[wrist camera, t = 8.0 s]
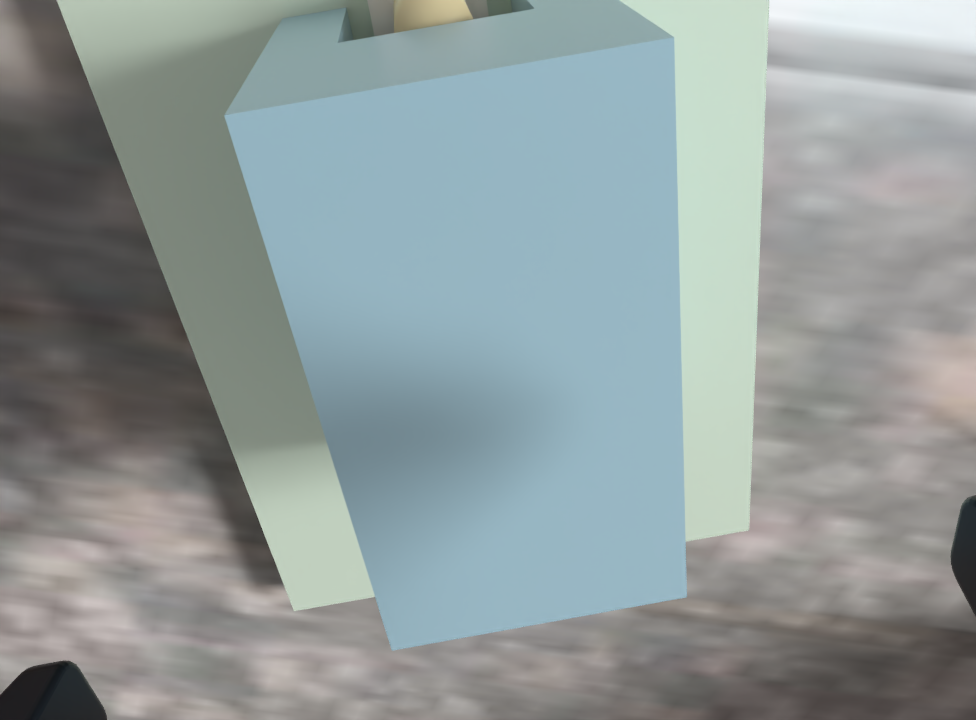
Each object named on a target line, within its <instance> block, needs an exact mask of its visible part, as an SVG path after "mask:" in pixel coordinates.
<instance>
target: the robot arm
mask: <svg viewBox="0 0 976 720" xmlns="http://www.w3.org/2000/svg"><path fill="white" fill-rule="evenodd" d="M951 565H952V569H953V572H954V575H955V577H956V580H957V582H958V584H959V586H960V587H961V589H962V591H963V593H964V595H965V597H966V599H967V601H968V603H969V605H970V607H971V608H972V610H973V612H974V614H975V616H976V495H975V496H971V497H968V498H967V499H966V500H965V501H964V502H963V504H962V506H961V509H960V514H959V518H958V523H957V527H956V532H955V536H954V541H953V545H952V550H951ZM0 720H107V716H106V712H105V710H104V707H103V705H102V704H101V702H100V701H99V699H98V698H97V696H96V694H95V693H94V691H93V690H92V688H91V686H90V685H89V683H88V682H87V680H86V679H85V677H84V675H83V674H82V672H81V671H80V669H79V668H78V666H77V665H76V664H74V663H72V662H70V661H59V662H53V663H48V664H42V665H37V666H33V667H30V668H28V669H26V670H25V671H23V672H22V673H21V674H20V675H19V676H18V677H17V678H16V679H15V680H14V681H13V682H12V683H11V684H10V685H9V686H8V687H7V688H6V689H5V690H4V691H3V693H2V694H1V695H0Z"/></svg>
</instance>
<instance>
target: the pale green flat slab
mask: <svg viewBox="0 0 976 720" xmlns="http://www.w3.org/2000/svg"><path fill="white" fill-rule="evenodd" d="M620 1H621V2H622V3H624V4H625V5H627V6H628V7H630V8H631V9H633V10H634V11H636V12H637V13H639V14H640V15H642V16H643V17H645V18H646V19H648V20H649V21H651V22H652V23H654V24H655V25H657V26H658V27H660V28H661V29H663V30H664V31H666V32H667V33H669V34H670V35H672V36H673V37H674V52H675V96H676V141H677V185H678V229H679V273H680V318H681V362H682V406H683V450H684V495H685V539H686V541H692V540H697V539H703V538H709V537H714V536H720V535H725V534H731V533H737V532H742V531H748V530H749V516H750V490H751V464H752V437H753V411H754V385H755V359H756V333H757V307H758V280H759V254H760V228H761V202H762V176H763V149H764V123H765V97H766V71H767V45H768V18H769V0H620ZM57 3H58V5H59V8H60V10H61V13H62V16H63V18H64V21H65V23H66V26H67V28H68V31H69V34H70V36H71V39H72V41H73V44H74V46H75V49H76V52H77V54H78V57H79V59H80V62H81V64H82V67H83V70H84V72H85V75H86V77H87V80H88V82H89V85H90V88H91V90H92V93H93V95H94V98H95V100H96V103H97V106H98V108H99V111H100V113H101V116H102V118H103V121H104V124H105V126H106V129H107V131H108V134H109V136H110V139H111V142H112V144H113V147H114V149H115V152H116V154H117V157H118V160H119V162H120V165H121V167H122V170H123V172H124V175H125V178H126V180H127V183H128V185H129V188H130V190H131V193H132V196H133V198H134V201H135V203H136V206H137V208H138V211H139V214H140V216H141V219H142V221H143V224H144V226H145V229H146V232H147V234H148V237H149V239H150V242H151V244H152V247H153V250H154V252H155V255H156V257H157V260H158V262H159V265H160V268H161V270H162V273H163V275H164V278H165V280H166V283H167V286H168V288H169V291H170V293H171V296H172V298H173V301H174V304H175V306H176V309H177V311H178V314H179V316H180V319H181V322H182V324H183V327H184V329H185V332H186V334H187V337H188V340H189V342H190V345H191V347H192V350H193V352H194V355H195V358H196V360H197V363H198V365H199V368H200V370H201V373H202V376H203V378H204V381H205V383H206V386H207V388H208V391H209V394H210V396H211V399H212V401H213V404H214V406H215V409H216V412H217V414H218V417H219V419H220V422H221V424H222V427H223V430H224V432H225V435H226V437H227V440H228V442H229V445H230V448H231V450H232V453H233V455H234V458H235V460H236V463H237V466H238V468H239V471H240V473H241V476H242V478H243V481H244V484H245V486H246V489H247V491H248V494H249V496H250V499H251V502H252V504H253V507H254V509H255V512H256V514H257V517H258V520H259V522H260V525H261V527H262V530H263V532H264V535H265V538H266V540H267V543H268V545H269V548H270V550H271V553H272V556H273V558H274V561H275V563H276V566H277V568H278V571H279V574H280V576H281V579H282V581H283V584H284V586H285V589H286V592H287V594H288V597H289V599H290V602H291V604H292V607H293V610H294V611H298V610H304V609H309V608H315V607H320V606H326V605H332V604H337V603H343V602H349V601H354V600H360V599H365V598H371V597H375V595H374V592H373V588H372V585H371V582H370V579H369V576H368V572H367V569H366V566H365V563H364V560H363V556H362V553H361V550H360V547H359V544H358V541H357V537H356V534H355V531H354V528H353V525H352V521H351V518H350V515H349V512H348V509H347V505H346V502H345V499H344V496H343V493H342V489H341V486H340V483H339V480H338V477H337V474H336V470H335V467H334V464H333V461H332V458H331V454H330V451H329V448H328V445H327V442H326V438H325V435H324V432H323V429H322V426H321V423H320V419H319V416H318V413H317V410H316V407H315V403H314V400H313V397H312V394H311V391H310V387H309V384H308V381H307V378H306V375H305V371H304V368H303V365H302V362H301V359H300V356H299V352H298V349H297V346H296V343H295V340H294V336H293V333H292V330H291V327H290V324H289V320H288V317H287V314H286V311H285V308H284V305H283V301H282V298H281V295H280V292H279V289H278V285H277V282H276V279H275V276H274V273H273V269H272V266H271V263H270V260H269V257H268V254H267V250H266V247H265V244H264V241H263V238H262V234H261V231H260V228H259V225H258V222H257V218H256V215H255V212H254V209H253V206H252V202H251V199H250V196H249V193H248V190H247V187H246V183H245V180H244V177H243V174H242V171H241V167H240V164H239V161H238V158H237V155H236V151H235V148H234V145H233V142H232V139H231V136H230V132H229V129H228V126H227V123H226V120H225V116H224V115H225V113H226V112H227V110H228V108H229V107H230V105H231V103H232V102H233V100H234V98H235V97H236V95H237V93H238V92H239V90H240V88H241V87H242V85H243V83H244V82H245V80H246V78H247V77H248V75H249V73H250V72H251V70H252V68H253V67H254V65H255V63H256V62H257V60H258V58H259V57H260V55H261V53H262V52H263V50H264V48H265V47H266V45H267V43H268V42H269V40H270V38H271V37H272V35H273V33H274V32H275V30H276V29H277V27H278V25H279V24H280V22H281V20H282V19H283V18H288V17H294V16H300V15H305V14H311V13H317V12H323V11H328V10H334V9H340V8H347V12H348V17H349V22H350V26H351V31H352V35H353V40H357V39H363V38H369V37H374V36H380V35H386V34H392V33H397V32H403V31H409V30H415V29H421V28H426V27H432V26H438V25H444V24H449V23H455V22H461V21H467V20H473V19H478V18H484V17H490V16H496V15H501V14H507V13H512V5H511V0H57Z"/></svg>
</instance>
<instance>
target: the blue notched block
mask: <svg viewBox="0 0 976 720" xmlns="http://www.w3.org/2000/svg"><path fill="white" fill-rule="evenodd" d="M511 5H512V13H507V14H501V15H496V16H490V17H484V18H478V19H473V20H467V21H461V22H455V23H449V24H444V25H438V26H432V27H426V28H421V29H415V30H409V31H403V32H397V33H392V34H386V35H380V36H374V37H369V38H363V39H357V40H353V35H352V31H351V26H350V22H349V17H348V12H347V8H340V9H334V10H328V11H323V12H317V13H311V14H305V15H300V16H294V17H288V18H283V19H282V20H281V22H280V24H279V25H278V27H277V29H276V30H275V32H274V33H273V35H272V37H271V38H270V40H269V42H268V43H267V45H266V47H265V48H264V50H263V52H262V53H261V55H260V57H259V58H258V60H257V62H256V63H255V65H254V67H253V68H252V70H251V72H250V73H249V75H248V77H247V78H246V80H245V82H244V83H243V85H242V87H241V88H240V90H239V92H238V93H237V95H236V97H235V98H234V100H233V102H232V103H231V105H230V107H229V108H228V110H227V112H226V113H225V115H224V116H225V120H226V123H227V126H228V129H229V132H230V136H231V139H232V142H233V145H234V148H235V151H236V155H237V158H238V161H239V164H240V167H241V171H242V174H243V177H244V180H245V183H246V187H247V190H248V193H249V196H250V199H251V202H252V206H253V209H254V212H255V215H256V218H257V222H258V225H259V228H260V231H261V234H262V238H263V241H264V244H265V247H266V250H267V254H268V257H269V260H270V263H271V266H272V269H273V273H274V276H275V279H276V282H277V285H278V289H279V292H280V295H281V298H282V301H283V305H284V308H285V311H286V314H287V317H288V320H289V324H290V327H291V330H292V333H293V336H294V340H295V343H296V346H297V349H298V352H299V356H300V359H301V362H302V365H303V368H304V371H305V375H306V378H307V381H308V384H309V387H310V391H311V394H312V397H313V400H314V403H315V407H316V410H317V413H318V416H319V419H320V423H321V426H322V429H323V432H324V435H325V438H326V442H327V445H328V448H329V451H330V454H331V458H332V461H333V464H334V467H335V470H336V474H337V477H338V480H339V483H340V486H341V489H342V493H343V496H344V499H345V502H346V505H347V509H348V512H349V515H350V518H351V521H352V525H353V528H354V531H355V534H356V537H357V541H358V544H359V547H360V550H361V553H362V556H363V560H364V563H365V566H366V569H367V572H368V576H369V579H370V582H371V585H372V588H373V592H374V595H375V598H376V601H377V604H378V607H379V611H380V614H381V617H382V620H383V623H384V627H385V630H386V633H387V636H388V639H389V643H390V646H391V649H392V651H393V650H398V649H404V648H409V647H415V646H420V645H426V644H431V643H437V642H442V641H448V640H453V639H459V638H464V637H470V636H475V635H481V634H486V633H492V632H497V631H503V630H508V629H514V628H520V627H525V626H531V625H536V624H542V623H547V622H553V621H558V620H564V619H569V618H575V617H580V616H586V615H591V614H597V613H602V612H608V611H613V610H619V609H624V608H630V607H635V606H641V605H646V604H652V603H658V602H663V601H669V600H674V599H680V598H685V597H687V583H686V539H685V495H684V450H683V406H682V362H681V318H680V273H679V229H678V185H677V141H676V96H675V52H674V37H673V36H672V35H670V34H669V33H667V32H666V31H664V30H663V29H661V28H660V27H658V26H657V25H655V24H654V23H652V22H651V21H649V20H648V19H646V18H645V17H643V16H642V15H640V14H639V13H637V12H636V11H634V10H633V9H631V8H630V7H628V6H627V5H625V4H624V3H622V2H621V1H620V0H511Z"/></svg>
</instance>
